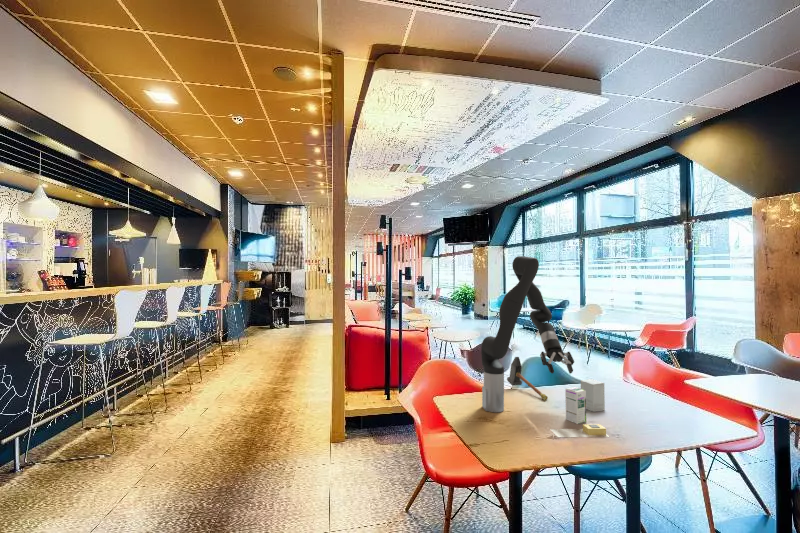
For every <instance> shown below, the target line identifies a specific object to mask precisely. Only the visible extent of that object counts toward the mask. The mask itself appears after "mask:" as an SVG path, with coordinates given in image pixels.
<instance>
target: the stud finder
mask: <svg viewBox="0 0 800 533" xmlns="http://www.w3.org/2000/svg"><path fill="white" fill-rule="evenodd" d="M582 429H583V431H584V432H585V433H586V434H588V435H606V434H607V428H606V427H604V426H603V425H602V424H601V423H599V424H597V423H594V424H593V423H592V424H590V423H588V424H585V423H584V424H583V423H582Z"/></svg>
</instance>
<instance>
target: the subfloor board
mask: <svg viewBox="0 0 800 533" xmlns="http://www.w3.org/2000/svg"><path fill="white" fill-rule="evenodd" d="M549 430H550V431H551V432H552V433H553V434H554V435H555V436H556V437H557V438H607V437H608V438H610V436H609V435H608V434H607V433H606V435H588V434H586V433H585V432H584V431H583V428H559V429H558V428H550V429H549Z"/></svg>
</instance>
